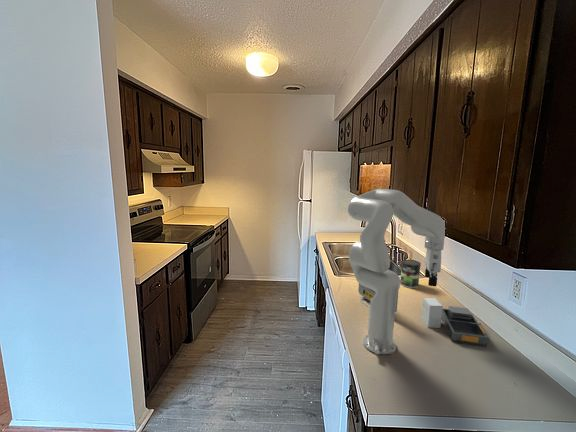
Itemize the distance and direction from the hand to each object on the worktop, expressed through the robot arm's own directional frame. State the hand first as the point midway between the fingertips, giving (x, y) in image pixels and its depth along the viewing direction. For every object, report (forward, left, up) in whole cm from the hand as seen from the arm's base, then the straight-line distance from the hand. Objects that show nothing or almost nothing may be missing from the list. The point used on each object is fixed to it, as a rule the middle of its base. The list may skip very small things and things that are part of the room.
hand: (430, 281), depth 136 cm
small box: (-2, -1, -19) cm, 20 cm away
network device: (+8, +23, -19) cm, 31 cm away
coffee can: (+42, +3, -19) cm, 47 cm away
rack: (-4, -13, -19) cm, 24 cm away
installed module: (+1, -13, -19) cm, 23 cm away
